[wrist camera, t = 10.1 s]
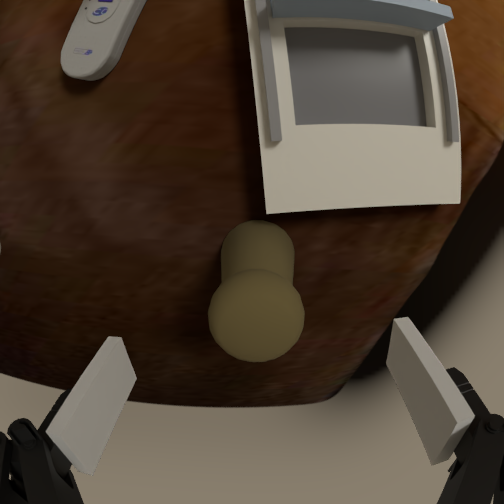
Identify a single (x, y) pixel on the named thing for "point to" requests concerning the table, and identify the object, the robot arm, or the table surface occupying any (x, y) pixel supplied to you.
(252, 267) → the cork
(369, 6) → the panel
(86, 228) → the table surface
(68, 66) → the electronic device
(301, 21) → the socket plate
